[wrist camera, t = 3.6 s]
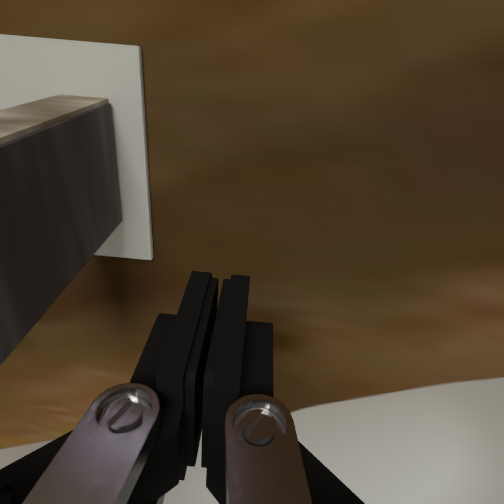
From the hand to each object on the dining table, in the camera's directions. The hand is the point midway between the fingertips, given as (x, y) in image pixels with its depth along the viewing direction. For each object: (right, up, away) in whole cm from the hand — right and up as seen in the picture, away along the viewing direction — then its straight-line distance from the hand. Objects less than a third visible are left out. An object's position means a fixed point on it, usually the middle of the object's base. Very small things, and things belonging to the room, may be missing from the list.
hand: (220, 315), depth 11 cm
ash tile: (-8, +7, +10) cm, 15 cm away
